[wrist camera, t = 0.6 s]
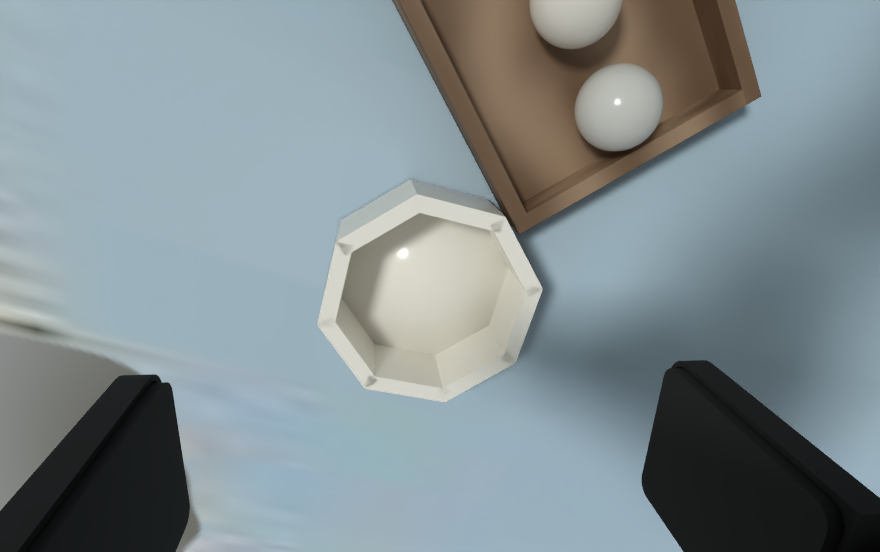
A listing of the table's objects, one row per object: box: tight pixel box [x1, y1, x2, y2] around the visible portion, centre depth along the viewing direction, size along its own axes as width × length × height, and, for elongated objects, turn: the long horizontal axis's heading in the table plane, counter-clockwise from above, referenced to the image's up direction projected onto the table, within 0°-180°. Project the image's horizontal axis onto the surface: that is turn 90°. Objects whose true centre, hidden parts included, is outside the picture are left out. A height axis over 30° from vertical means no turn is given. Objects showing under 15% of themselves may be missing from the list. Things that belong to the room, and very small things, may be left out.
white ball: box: [574, 63, 664, 152], centre depth 30 cm, size 5×5×5 cm
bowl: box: [317, 179, 543, 402], centre depth 34 cm, size 13×13×5 cm
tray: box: [392, 0, 761, 234], centre depth 30 cm, size 17×21×3 cm
